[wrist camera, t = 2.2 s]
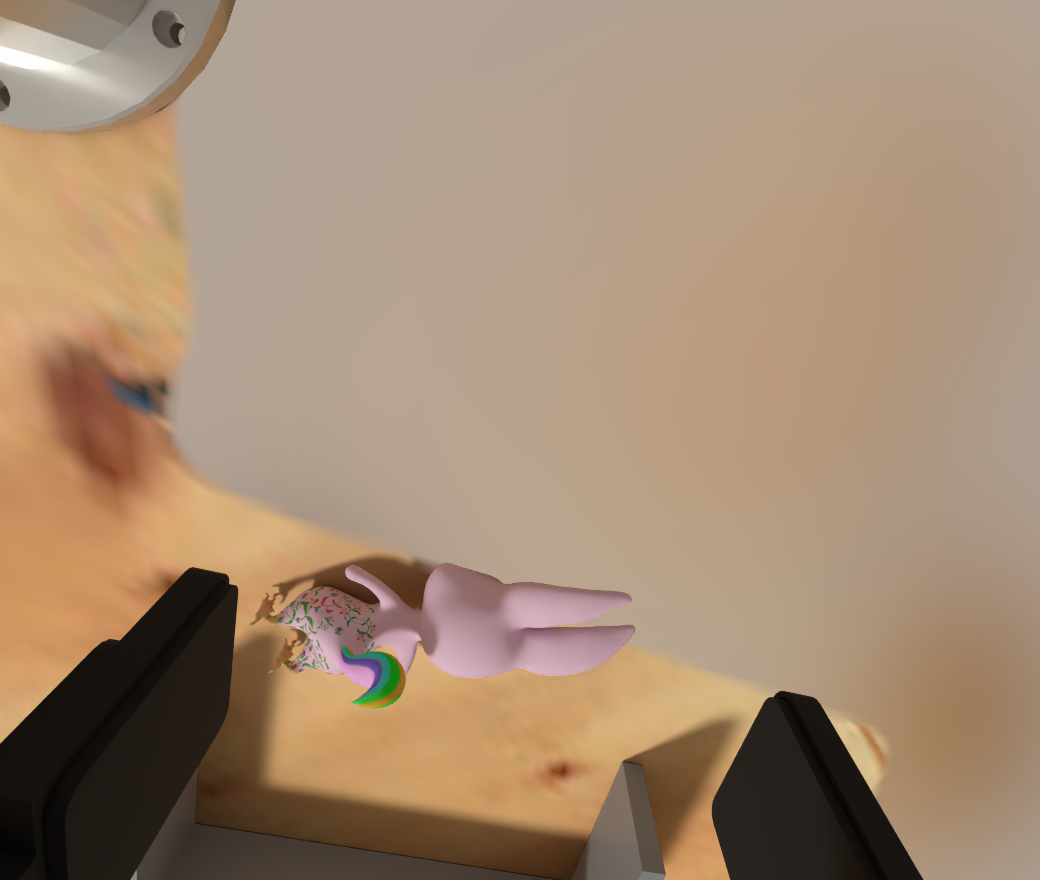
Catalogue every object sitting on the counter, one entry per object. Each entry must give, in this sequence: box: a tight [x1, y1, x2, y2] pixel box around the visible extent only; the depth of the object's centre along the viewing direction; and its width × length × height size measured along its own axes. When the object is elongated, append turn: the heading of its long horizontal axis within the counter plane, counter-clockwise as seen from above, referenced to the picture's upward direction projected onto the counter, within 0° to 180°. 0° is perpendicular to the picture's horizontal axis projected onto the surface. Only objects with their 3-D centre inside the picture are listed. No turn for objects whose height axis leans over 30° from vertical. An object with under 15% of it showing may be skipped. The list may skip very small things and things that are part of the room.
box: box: [131, 762, 666, 880], centre depth 27 cm, size 10×22×5 cm, turn 76°
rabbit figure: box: [247, 563, 635, 708], centre depth 22 cm, size 6×6×15 cm
